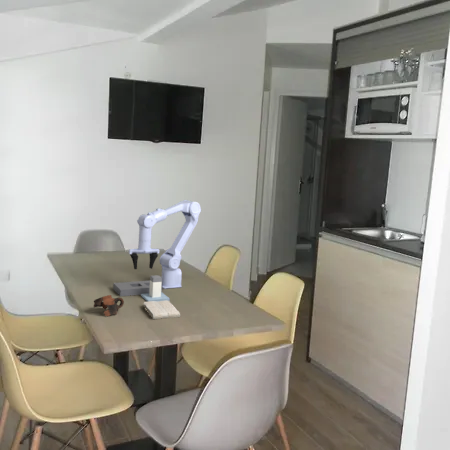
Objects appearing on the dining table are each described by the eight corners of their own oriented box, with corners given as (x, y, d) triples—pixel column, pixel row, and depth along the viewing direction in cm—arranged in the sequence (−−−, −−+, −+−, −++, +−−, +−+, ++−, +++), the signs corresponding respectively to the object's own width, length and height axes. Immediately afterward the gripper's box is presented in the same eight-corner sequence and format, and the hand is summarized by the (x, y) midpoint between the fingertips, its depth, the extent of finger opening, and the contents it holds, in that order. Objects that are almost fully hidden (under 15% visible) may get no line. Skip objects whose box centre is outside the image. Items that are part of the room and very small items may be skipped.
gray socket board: (153, 286, 242) (153, 280, 241) (162, 292, 231) (162, 286, 231) (113, 289, 232) (113, 282, 232) (120, 296, 222) (120, 289, 222)
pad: (161, 294, 229) (161, 292, 229) (169, 300, 220) (169, 298, 220) (141, 296, 224) (141, 293, 224) (148, 302, 216) (148, 300, 216)
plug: (157, 294, 225) (158, 275, 224) (160, 296, 222) (161, 277, 220) (149, 295, 223) (150, 275, 222) (152, 297, 220) (153, 278, 218)
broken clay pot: (98, 319, 193) (92, 299, 194) (97, 322, 201) (91, 303, 203) (128, 309, 197) (121, 290, 199) (125, 312, 206) (119, 293, 207)
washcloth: (167, 305, 216) (168, 298, 215) (181, 318, 199) (181, 311, 199) (141, 307, 211) (141, 300, 210) (152, 321, 195) (153, 313, 194)
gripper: (132, 241, 224) (131, 271, 226) (162, 241, 231) (160, 269, 233) (127, 239, 230) (126, 267, 232) (157, 238, 237) (155, 266, 239)
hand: (143, 268), depth 233 cm, fingers open, 7 cm apart
